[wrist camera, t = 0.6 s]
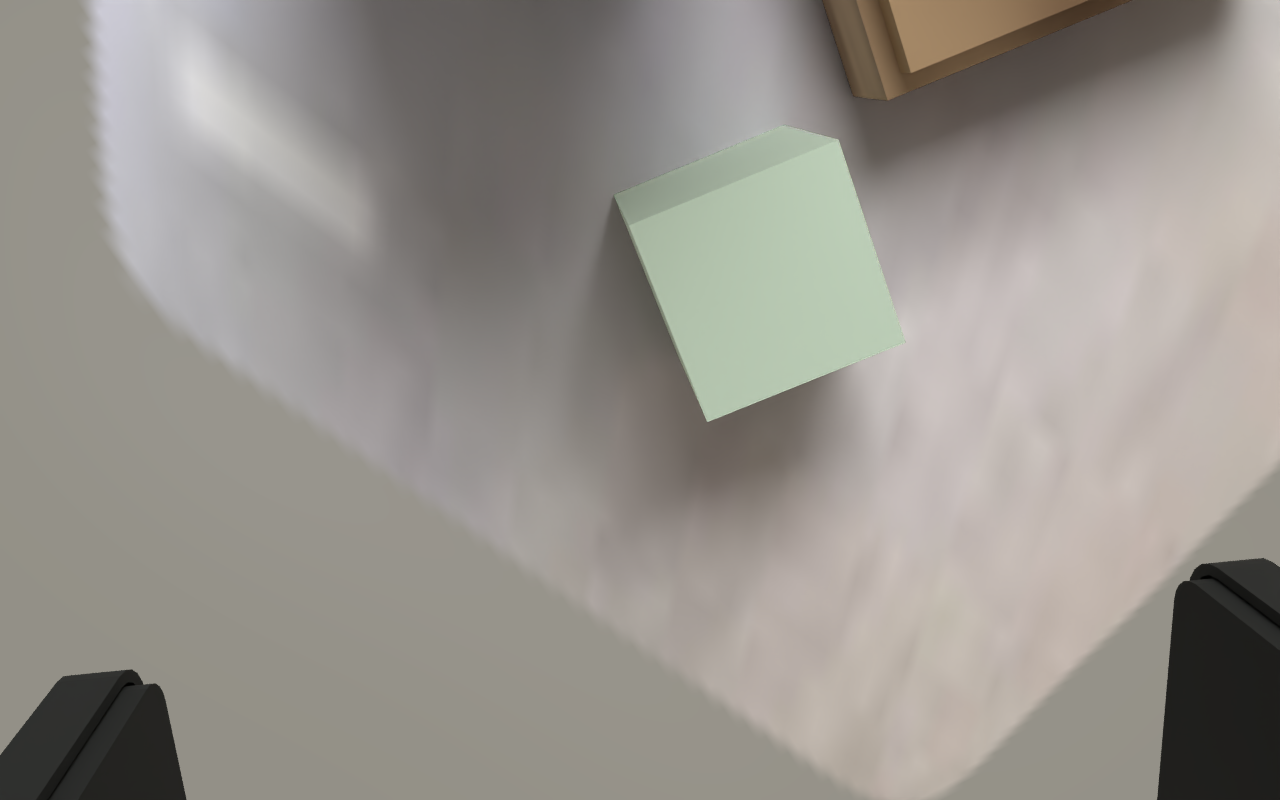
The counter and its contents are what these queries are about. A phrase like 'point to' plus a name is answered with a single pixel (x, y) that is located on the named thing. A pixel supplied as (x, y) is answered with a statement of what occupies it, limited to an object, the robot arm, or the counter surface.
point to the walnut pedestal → (938, 36)
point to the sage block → (761, 267)
